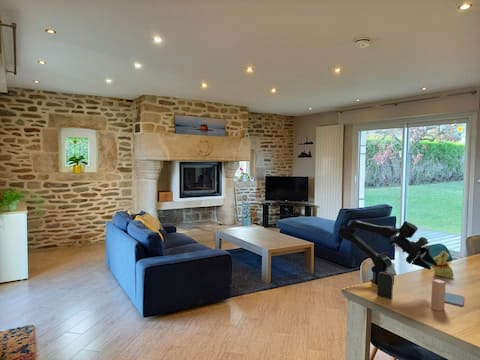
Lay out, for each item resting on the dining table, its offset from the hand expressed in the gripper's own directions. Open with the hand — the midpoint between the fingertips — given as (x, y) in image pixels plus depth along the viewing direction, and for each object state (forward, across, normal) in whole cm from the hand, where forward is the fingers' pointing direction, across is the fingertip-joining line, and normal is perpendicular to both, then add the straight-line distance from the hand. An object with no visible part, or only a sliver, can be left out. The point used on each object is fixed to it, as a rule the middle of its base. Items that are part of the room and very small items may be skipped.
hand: (433, 266), depth 158 cm
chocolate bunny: (+2, +39, +17) cm, 42 cm away
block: (+13, -12, +10) cm, 20 cm away
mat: (+14, +5, +9) cm, 17 cm away
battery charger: (-5, -16, +21) cm, 27 cm away
